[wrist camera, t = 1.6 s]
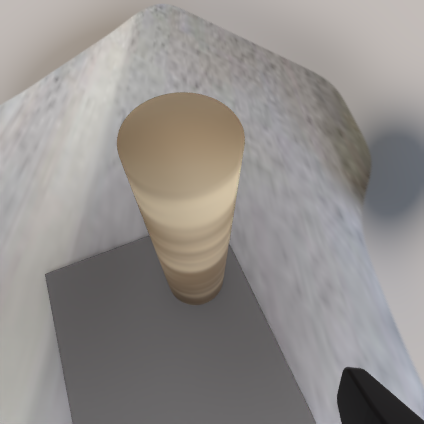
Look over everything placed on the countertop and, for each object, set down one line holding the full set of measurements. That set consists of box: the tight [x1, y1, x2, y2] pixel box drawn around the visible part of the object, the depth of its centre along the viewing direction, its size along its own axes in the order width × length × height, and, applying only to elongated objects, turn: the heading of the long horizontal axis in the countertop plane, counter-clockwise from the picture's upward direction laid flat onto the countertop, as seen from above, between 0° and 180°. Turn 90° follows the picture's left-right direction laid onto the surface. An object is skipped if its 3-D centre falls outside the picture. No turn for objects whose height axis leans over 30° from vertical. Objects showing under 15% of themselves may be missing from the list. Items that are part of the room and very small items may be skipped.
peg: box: [117, 92, 245, 305], centre depth 15 cm, size 4×4×14 cm
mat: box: [45, 236, 316, 424], centre depth 19 cm, size 14×12×1 cm
